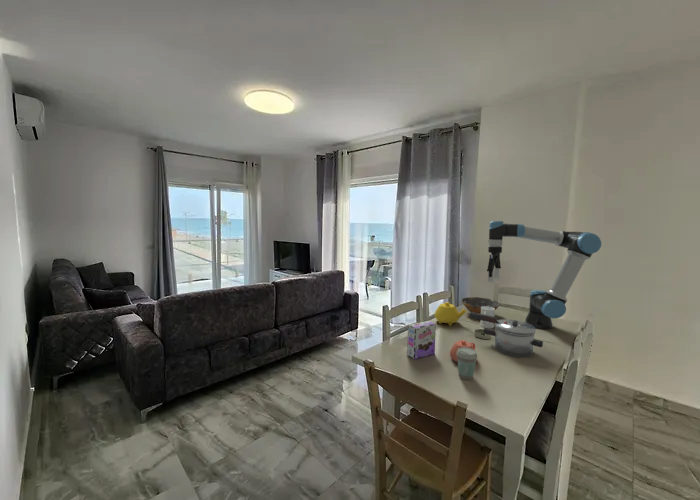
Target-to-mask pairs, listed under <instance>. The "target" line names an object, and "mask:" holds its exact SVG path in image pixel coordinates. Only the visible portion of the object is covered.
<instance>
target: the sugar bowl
mask: <svg viewBox="0 0 700 500" xmlns="http://www.w3.org/2000/svg"><path fill="white" fill-rule="evenodd" d="M462 347H466V348H471V349H473V350H475V351H476V344H475V342H468V341H467V340H465V339H461V340H457V341H456V342H454V344H453V345H452V346H451V348H450V351H449V356H450V358H451V359H452V360H453V361H454V362H456V363H458V359H457V354H456V353H457V351H458V349H459V348H462Z"/></svg>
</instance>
